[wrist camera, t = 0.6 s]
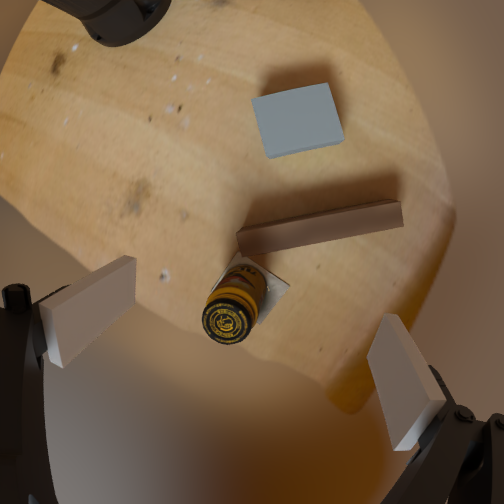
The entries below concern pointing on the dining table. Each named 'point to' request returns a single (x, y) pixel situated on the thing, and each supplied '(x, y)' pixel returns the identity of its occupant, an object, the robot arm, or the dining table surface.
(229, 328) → the condiment
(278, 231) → the board
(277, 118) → the block
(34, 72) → the dining table surface
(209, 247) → the dining table surface
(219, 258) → the dining table surface
